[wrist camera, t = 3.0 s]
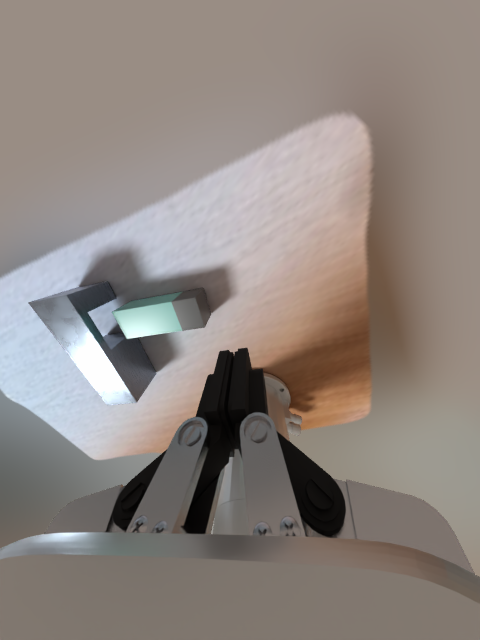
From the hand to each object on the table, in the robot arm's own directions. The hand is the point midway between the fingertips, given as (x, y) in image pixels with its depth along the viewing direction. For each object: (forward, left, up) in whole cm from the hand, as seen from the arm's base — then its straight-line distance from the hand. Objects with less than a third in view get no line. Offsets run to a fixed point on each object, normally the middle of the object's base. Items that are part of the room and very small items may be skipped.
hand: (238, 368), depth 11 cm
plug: (+9, +6, -15) cm, 18 cm away
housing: (+15, +15, -15) cm, 26 cm away
